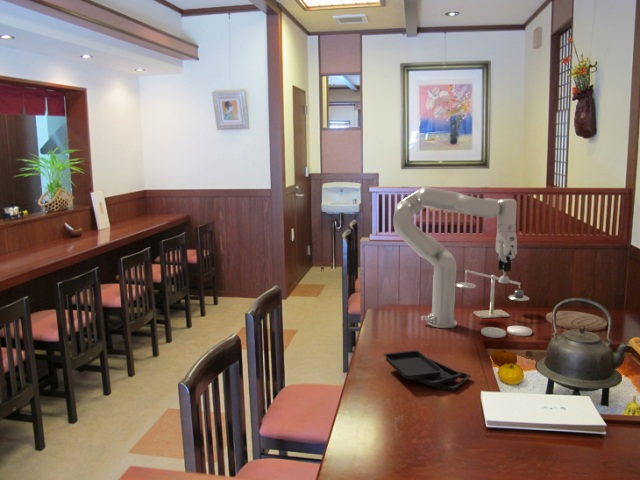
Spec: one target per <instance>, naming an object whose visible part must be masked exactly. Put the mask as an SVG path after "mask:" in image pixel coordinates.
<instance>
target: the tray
mask: <svg viewBox="0 0 640 480" xmlns="http://www.w3.org/2000/svg"><path fill="white" fill-rule="evenodd" d="M383 356H384V357H385V361H386V362H387V364H389V365H390V366H391V367H392V368H393V369H394V370H395V371H396V372H397V373H399V374H400V375H401V376H402V377H403V378H404V379H406V380H410V381H414V382H418V383H420V384H424V385H426V386H429V387H435V388H437V389H441V390H444V391H448V392H454V391H456V389H457V388H459V387H460V386H462V385H463V384H464V383H466V382H467V381H468V380H469V378H471V374H469V373H465V372H461V371H457V370H454V369H452V368H450V367H448V366H447V365H444V364H442V363H440V362H437V361H436V360H433V359H432V358H430V357H427V356H426V355H425V354H423V353H422V352H421V351H419V350H418V349H417V350H414V349H413V350H406V351H405V350H404V351H395V352H388V353H384V354H383ZM459 378H462V379H461V380H460V381H458V382H457V383H456V384H454V385H453V386H449V385H446V383H449V382H453V381H456V380H458V379H459Z"/></svg>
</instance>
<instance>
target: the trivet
mask: <svg viewBox="0 0 640 480" xmlns="http://www.w3.org/2000/svg"><path fill="white" fill-rule="evenodd" d="M556 311H557V313H556V325H557V326H559V327H558V328H560V327H565V328H571V329H577V328H578V327H579V326H585V328H586V329H587V330H597V329H603V328H605V327H606V326H607V327H608V321H607V320H606V319H605V318H603V317H601V316H598V315H596V314H591V313H587V312H581V311H574V310H556ZM552 312H553V311H551V312H548V313H546V315H545V321H546V322H547V323H548V324H550V325H552ZM557 326H556V327H557ZM607 327H606V328H607ZM606 328H605V329H606ZM603 330H604V329H603Z"/></svg>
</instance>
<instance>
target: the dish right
mask: <svg viewBox="0 0 640 480" xmlns="http://www.w3.org/2000/svg"><path fill="white" fill-rule="evenodd" d="M506 333H508V334H510V335H513V336H519V337H528V336H531V335H532V334H533V329H532V328H530V327H527V326H523V325H510V326H507V330H506Z"/></svg>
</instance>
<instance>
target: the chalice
mask: <svg viewBox="0 0 640 480" xmlns="http://www.w3.org/2000/svg"><path fill="white" fill-rule="evenodd" d="M497 241H498V240H497ZM498 243H499V244H498V253H499V256H500V258H501V261H503V262H505V255H504V254H503V243H504V242H500V241H498ZM508 255H510V253H508ZM508 257H510V256H508ZM508 257H507V258H508ZM503 268H504V265H503ZM502 273H503V274H502V275H501V276H500V277H499V278H500V279H499V280H497V282H498V283H501V284H511V283H510V281H509V280H510V277H509V276H508V275H507V274H506V273H507V272H504V271H503V270H502Z"/></svg>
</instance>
